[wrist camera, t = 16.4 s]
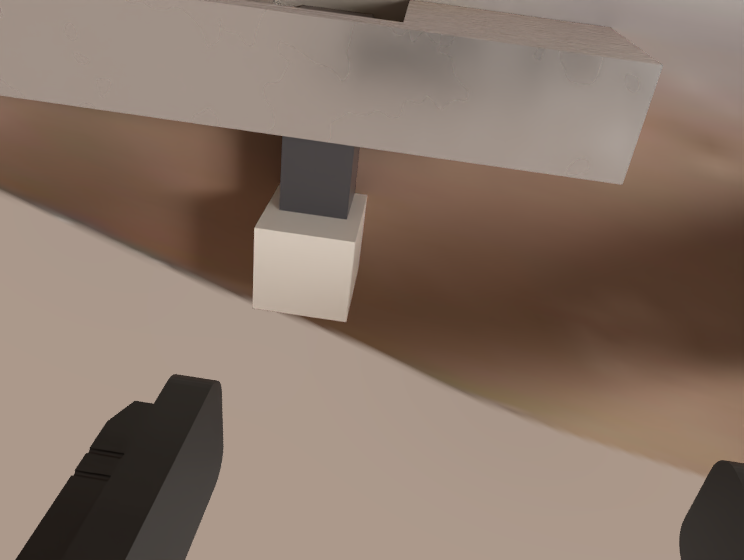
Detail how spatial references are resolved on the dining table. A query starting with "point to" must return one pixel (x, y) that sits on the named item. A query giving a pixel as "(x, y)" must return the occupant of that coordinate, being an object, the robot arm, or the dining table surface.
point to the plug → (311, 229)
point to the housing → (346, 76)
